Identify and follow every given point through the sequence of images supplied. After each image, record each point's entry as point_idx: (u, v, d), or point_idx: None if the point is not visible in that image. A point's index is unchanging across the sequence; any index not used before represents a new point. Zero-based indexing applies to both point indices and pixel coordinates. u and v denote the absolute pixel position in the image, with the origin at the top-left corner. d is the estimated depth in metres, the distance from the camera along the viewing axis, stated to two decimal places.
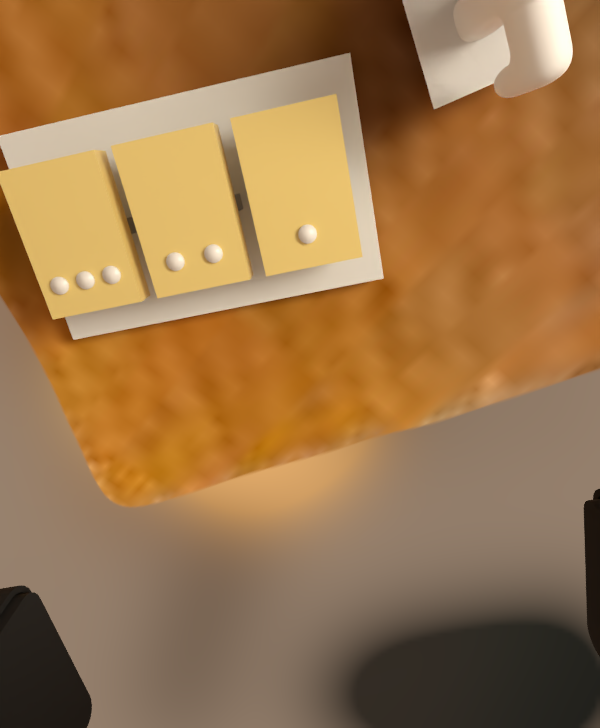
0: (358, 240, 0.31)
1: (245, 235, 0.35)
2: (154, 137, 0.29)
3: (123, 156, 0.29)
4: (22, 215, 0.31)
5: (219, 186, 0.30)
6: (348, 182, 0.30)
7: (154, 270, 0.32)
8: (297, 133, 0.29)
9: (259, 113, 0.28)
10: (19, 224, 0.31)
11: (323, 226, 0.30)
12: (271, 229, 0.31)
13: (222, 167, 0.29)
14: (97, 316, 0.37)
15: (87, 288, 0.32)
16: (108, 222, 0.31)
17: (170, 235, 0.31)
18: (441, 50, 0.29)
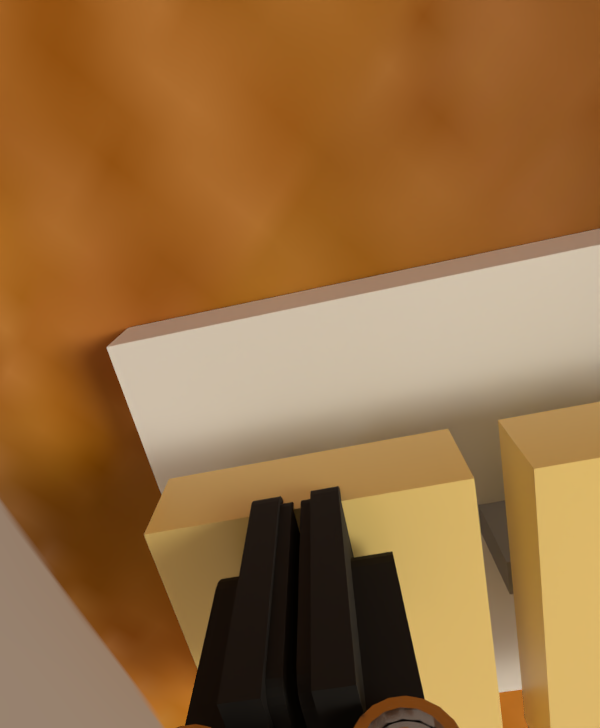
0: None
1: None
2: None
3: (568, 495, 0.09)
4: None
5: None
6: None
7: None
8: None
9: None
10: None
11: None
12: None
13: None
14: None
15: None
16: (468, 650, 0.10)
17: None
18: None
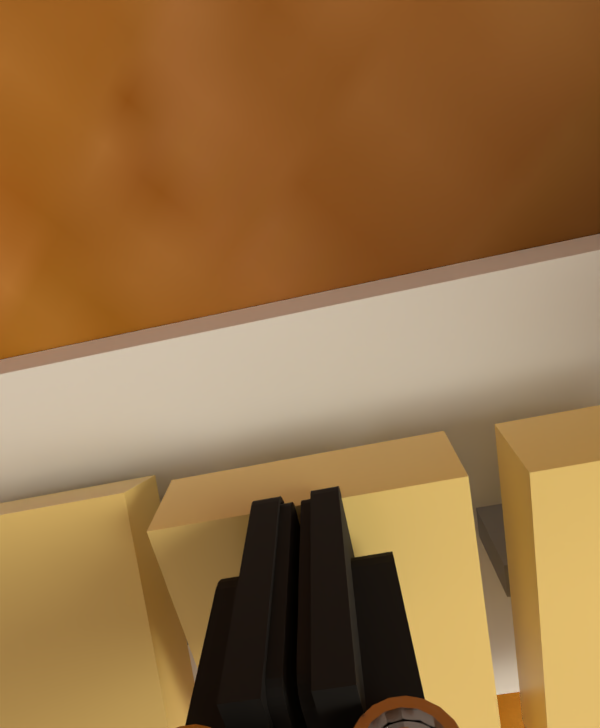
0: None
1: None
2: None
3: (185, 555, 0.10)
4: None
5: (461, 623, 0.10)
6: None
7: None
8: None
9: None
10: None
11: None
12: (592, 714, 0.11)
13: (479, 583, 0.10)
14: None
15: None
16: (136, 678, 0.11)
17: None
18: None
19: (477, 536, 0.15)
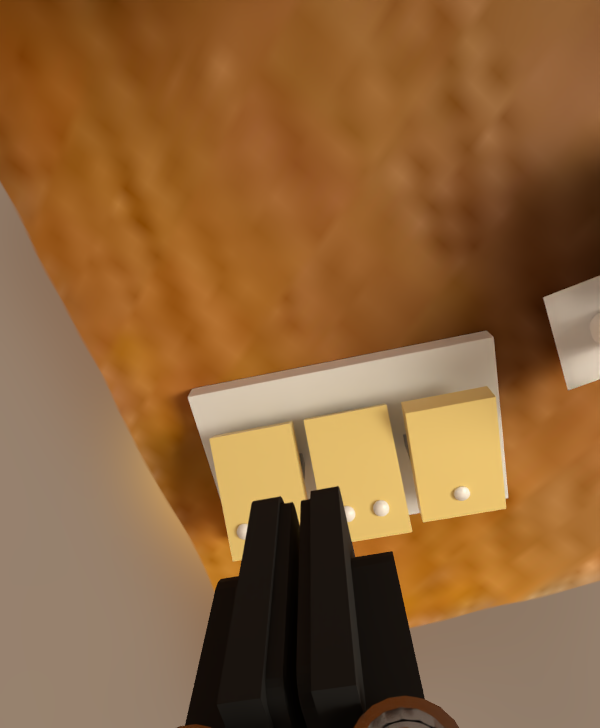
0: (503, 497, 0.37)
1: None
2: (339, 414, 0.36)
3: (313, 428, 0.37)
4: (223, 472, 0.37)
5: (389, 452, 0.36)
6: (499, 457, 0.35)
7: None
8: (460, 423, 0.35)
9: (430, 410, 0.34)
10: (219, 479, 0.37)
11: (475, 487, 0.36)
12: (431, 489, 0.36)
13: (392, 438, 0.36)
14: None
15: None
16: (293, 479, 0.37)
17: (344, 491, 0.36)
18: (577, 349, 0.35)
19: (404, 445, 0.40)
